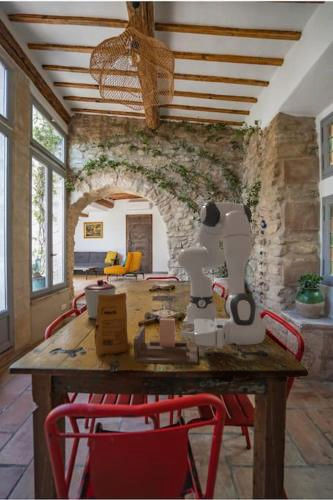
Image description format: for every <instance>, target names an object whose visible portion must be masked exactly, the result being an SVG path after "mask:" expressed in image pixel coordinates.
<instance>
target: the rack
mask: <svg viewBox="0 0 333 500" xmlns="http://www.w3.org/2000/svg"><path fill="white" fill-rule="evenodd" d="M198 359H199V357H198V345H197V344H195V343H193V344H192V343H191V344H189V343H187V340H175V347H163V346H160V339H159V340H158V339H150V340H149V342H146V326H145V325H141V327H140V328H139V330H138V332H137V333H136V335H135V337H134V338H133V363H150V364H151V363H153V364H154V363H155V364H176V365H177V364H180V365H182V364H183V365H198Z"/></svg>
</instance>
